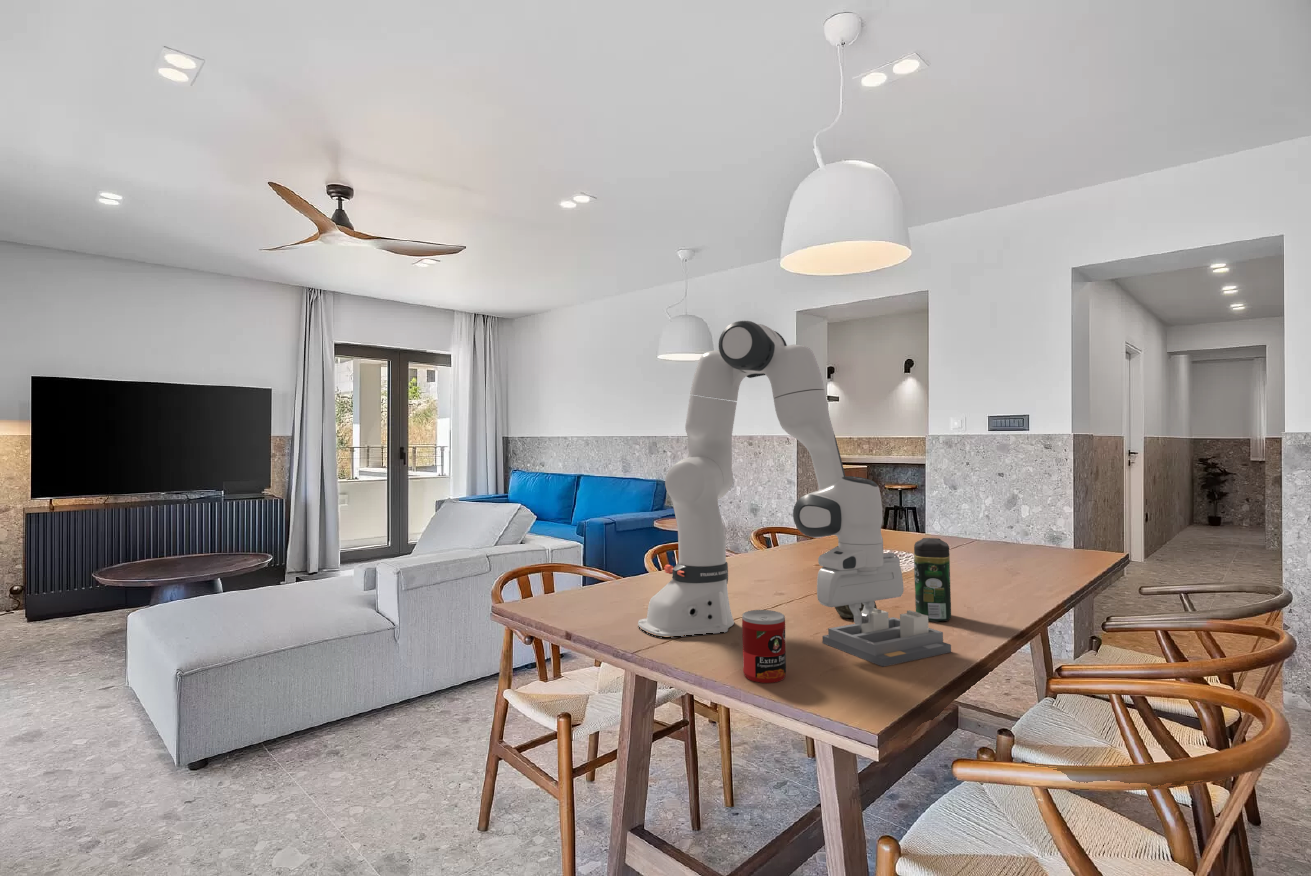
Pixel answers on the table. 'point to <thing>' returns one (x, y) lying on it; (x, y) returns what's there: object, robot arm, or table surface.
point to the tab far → (876, 621)
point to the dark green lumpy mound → (848, 610)
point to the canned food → (764, 646)
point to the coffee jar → (932, 579)
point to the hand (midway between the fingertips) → (862, 623)
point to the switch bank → (886, 643)
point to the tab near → (913, 624)
